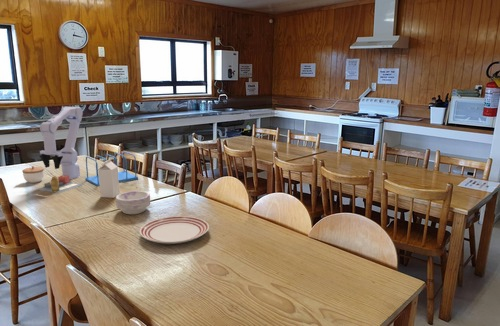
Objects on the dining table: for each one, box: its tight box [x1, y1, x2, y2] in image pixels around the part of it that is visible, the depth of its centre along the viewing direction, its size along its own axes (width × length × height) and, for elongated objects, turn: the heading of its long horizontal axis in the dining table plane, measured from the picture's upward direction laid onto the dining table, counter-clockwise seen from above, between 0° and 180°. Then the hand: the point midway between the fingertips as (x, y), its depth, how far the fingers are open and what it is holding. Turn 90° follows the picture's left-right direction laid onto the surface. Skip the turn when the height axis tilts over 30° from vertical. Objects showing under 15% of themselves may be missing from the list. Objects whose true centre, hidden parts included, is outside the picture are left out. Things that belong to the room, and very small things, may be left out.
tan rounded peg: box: [50, 176, 59, 192], centre depth 203 cm, size 4×4×8 cm
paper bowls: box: [115, 190, 151, 215], centre depth 177 cm, size 15×15×8 cm
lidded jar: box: [22, 165, 45, 184], centre depth 220 cm, size 11×11×9 cm
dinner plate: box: [139, 215, 210, 245], centre depth 153 cm, size 27×27×3 cm
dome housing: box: [43, 181, 64, 188], centre depth 212 cm, size 7×7×2 cm
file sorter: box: [85, 151, 139, 187], centre depth 226 cm, size 25×17×15 cm
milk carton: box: [98, 158, 120, 199], centre depth 197 cm, size 7×7×19 cm
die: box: [57, 175, 71, 184], centre depth 218 cm, size 4×4×4 cm
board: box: [35, 181, 85, 194], centre depth 211 cm, size 18×16×1 cm
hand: (52, 167), depth 212 cm, fingers open, 7 cm apart
